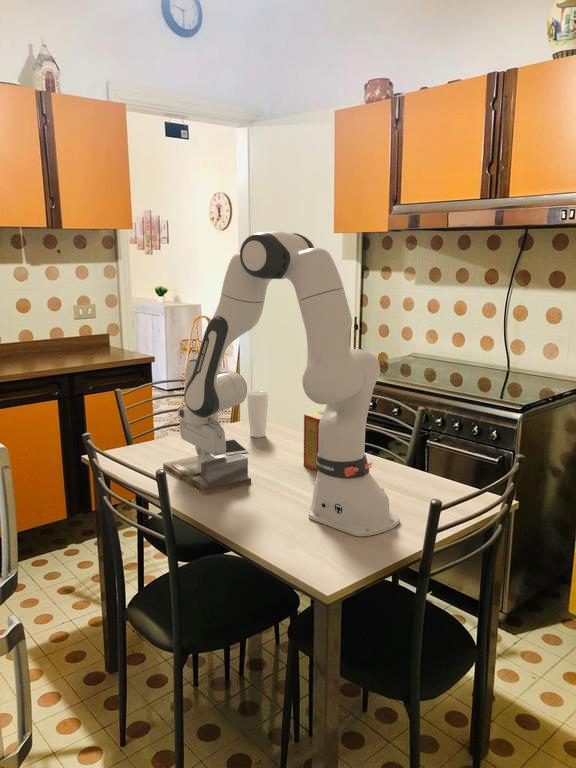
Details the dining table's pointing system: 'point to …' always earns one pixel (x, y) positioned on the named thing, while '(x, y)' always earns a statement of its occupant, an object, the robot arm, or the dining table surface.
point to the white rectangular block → (205, 458)
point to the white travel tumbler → (257, 413)
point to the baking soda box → (311, 439)
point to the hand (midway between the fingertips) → (203, 462)
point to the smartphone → (234, 447)
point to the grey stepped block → (212, 473)
